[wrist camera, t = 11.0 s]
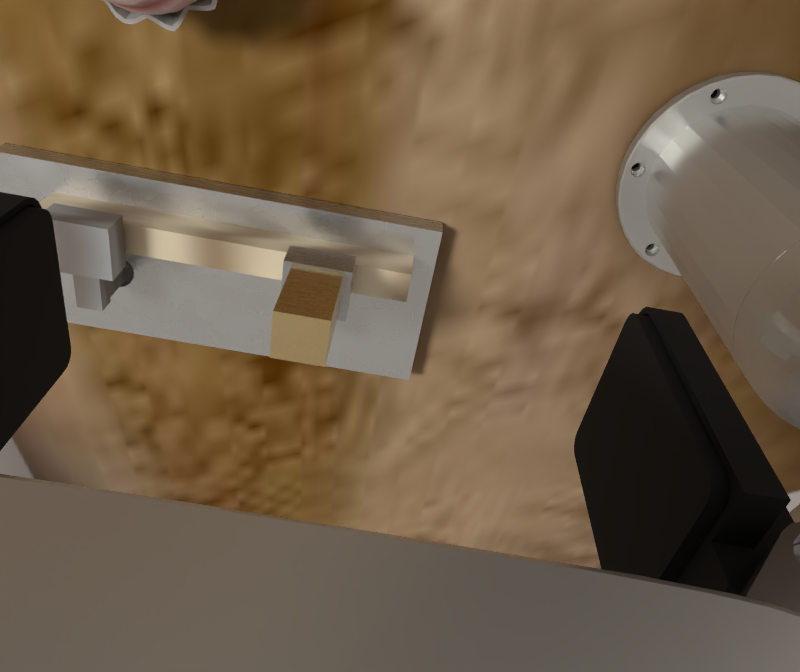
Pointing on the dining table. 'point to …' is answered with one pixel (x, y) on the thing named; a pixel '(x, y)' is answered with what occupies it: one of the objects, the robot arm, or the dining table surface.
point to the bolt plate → (230, 291)
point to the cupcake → (157, 10)
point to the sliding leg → (310, 304)
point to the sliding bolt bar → (191, 248)
